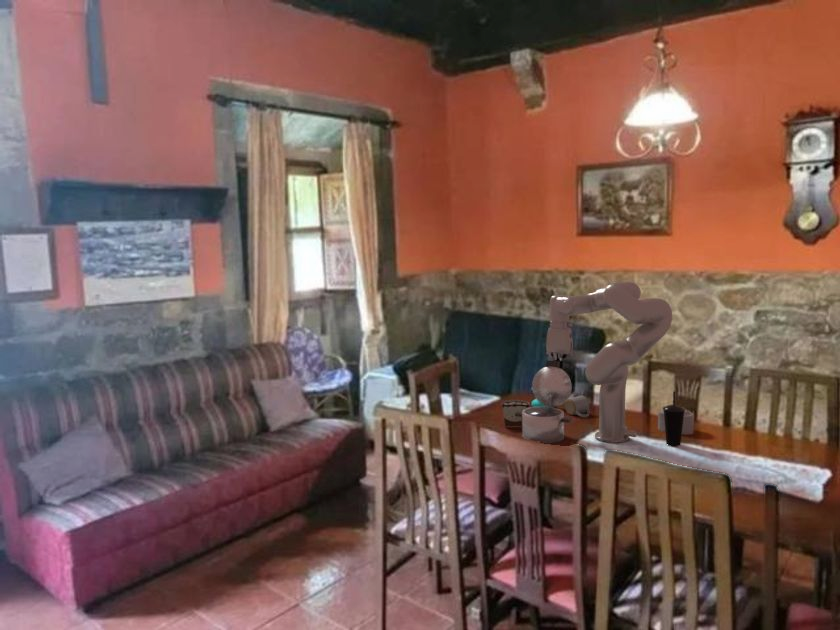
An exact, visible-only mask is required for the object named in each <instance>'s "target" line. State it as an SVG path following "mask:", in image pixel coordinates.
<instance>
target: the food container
mask: <svg viewBox="0 0 840 630" xmlns="http://www.w3.org/2000/svg"><path fill="white" fill-rule="evenodd" d="M531 407H532V405H531V404H530V402H529V401H526V400H522V399H509V400H504V401H502V402H501V405H500V408H501V409H502V417H503V424H504V428H522V417H517V416H515V413H516V412H522V411H523V410H524V409H526V408H531Z"/></svg>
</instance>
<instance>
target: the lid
mask: <svg viewBox="0 0 840 630" xmlns="http://www.w3.org/2000/svg"><path fill="white" fill-rule="evenodd" d="M545 361H546V362H545V363H546V364H545V366H544V367H542V368H541V369H539V370H538V371H537V372H536V373H535V375H534V377H533V379H532V383H531V391H532V390H533V391H532V394H533V395H534V397H535V399H537V400H538V401H539V402H540V403H541V404H543V405H545V406H549V407H553V408H556V407H559V406H561V405H563V404H565V403H566V401H567V400H568V399H570V397H571V394H572V388H573V387H572V382H571V381H572V380H571V378H570V376H569V374H568V373H567V372H566V371H565V370H563V368H562V369H560V368H558V367H559V362H560V361H555V360H545Z"/></svg>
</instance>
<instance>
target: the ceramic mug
mask: <svg viewBox="0 0 840 630" xmlns="http://www.w3.org/2000/svg"><path fill="white" fill-rule="evenodd" d="M564 408H565V411H566V412H567V414H569V415H571V416H579V417H581V418H588V417H589V416H590V413H591V412H590V402H589V400H588V398H587V397H586V396H585V395H578V396H575V397H574V396H573V397H569V398H568V399H567V401H566V402H565V403H564Z"/></svg>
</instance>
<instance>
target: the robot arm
mask: <svg viewBox="0 0 840 630" xmlns="http://www.w3.org/2000/svg"><path fill="white" fill-rule="evenodd" d="M641 295H642V290H641V288H640V286H639V285H638V284H636V283H635V282H633V281H621V282H620V281H619V282H613V283H610V284H609V285H607V286H603V287H599V288H597V289H596V291H595V292H591V293H587V294H580V295H579V294H578V295H571V296H568V295H566V294H553V295H552V296H551V297H550V298H549V301H550V302H549V303H550V304H549V306H550V308H549V311H550V312H549V327H548V330H547V334H546V343H545V345H546V347H545V348H546V353H545V354H546V355H548V356H551V357H552V359H553V361H560V362H559V367H558V368H560V369H562V370H563V368H564V360H565V359H566V358H568V357H569V358H570V357H572V356H573V349H574V348H573V347H574V345H573V343H574V342H573V333H572V328H570V327H573V323H572V322H570V316H576V315H584V314H589V313H594V312H598V311H607V310H610V309H612V310H613V311H615V312H617V314H619V315H620V316H622V317H623V318H624V319H626V321H629V322H630V323H632V324H635V325H640V326H638V327H636V328H635V329H634V330H633V332H632V333H631V334H629V335H628V336H627V337H626V338H624V339H621V340H617V341H616V340H615V341H612V342H609V343H608V344H606V345H605V346H603V348H601V349H600V350H599V351H598V352H597V353H596V354H595V356H593V358H592V359H590V361H589V362H588V363H587V365H586V366H585V367H586V368H585V370H584V371H585V372H584V374H585V378H586V380H587V381H588V382H589V383H590V384H592V385H595V386H600V387H599V395H598V396H599V397H598V398H599V399H598V403H599V404H598V406H599V407H598V414H599V415H598V418H599V419H598V431H597V432H595V433H594V438H595V439H596V440H597V441H598V440H599V441H601V442H606V443H613V444H614V443H616V444H617V443H624V442H628V441H629V439H630V437H631V438H637V434H638V433H637V432H636V431H635V430H633V429H632V430H631V429H630V430H629V429H628V425H626V389H627V388H626V387H627V386H626V385H627V380H628V376H629V366H632V365H635V364H637V363H638V362H639V361H640V360H641V359H642V358H643V357H644V356H645V355H646V354H647V353H648V352H649V351H650V350H651V349H652V348H653V347H654V346H655V345H656V344H657V343H658V342H659V341H660V340H662V338H663V337H664V336H665V335H666V334H667V332H668V331H669V330H670V327H671V325H672V322H673V321H672V320H673V312H672V306H671V305H670V304H669V303H668V301H666V300H665V299H662V298H658V297H652V298H651V297H650V298H646V299H645V298H644V299H640V297H641Z"/></svg>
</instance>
